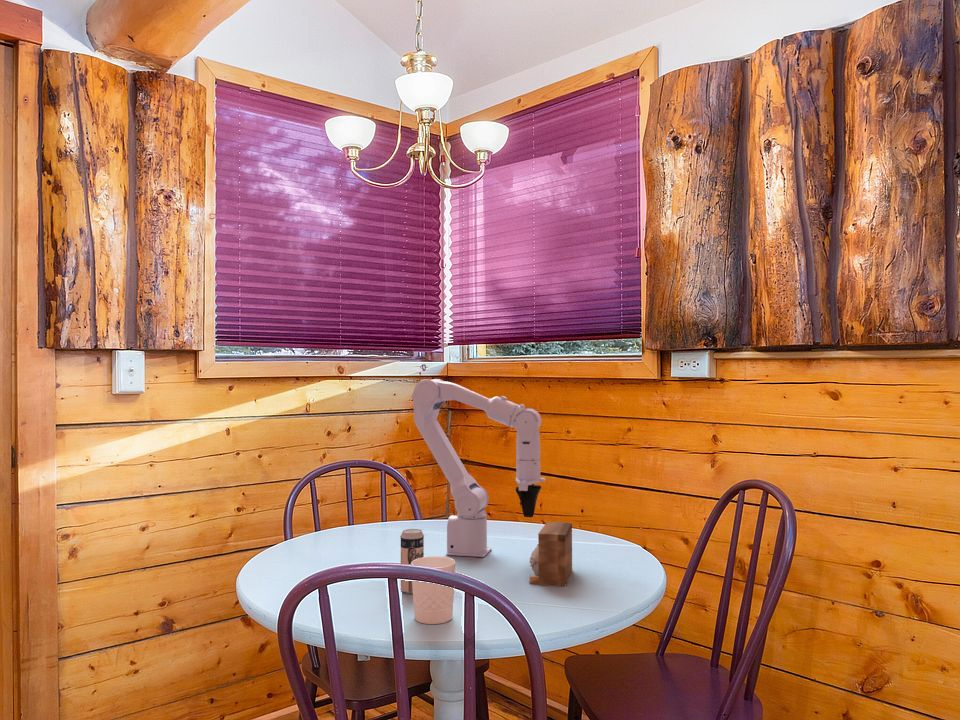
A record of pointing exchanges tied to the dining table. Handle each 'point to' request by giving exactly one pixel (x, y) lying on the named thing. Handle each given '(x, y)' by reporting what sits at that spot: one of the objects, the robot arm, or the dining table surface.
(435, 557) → the pink cup
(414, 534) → the beer can
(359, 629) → the dining table surface
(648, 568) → the dining table surface
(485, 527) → the robot arm
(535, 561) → the pink clay lump
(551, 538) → the upright wooden block
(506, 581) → the dining table surface
